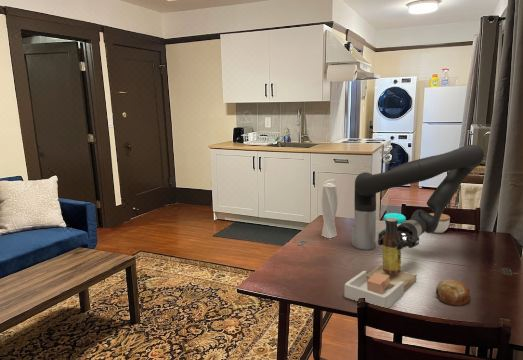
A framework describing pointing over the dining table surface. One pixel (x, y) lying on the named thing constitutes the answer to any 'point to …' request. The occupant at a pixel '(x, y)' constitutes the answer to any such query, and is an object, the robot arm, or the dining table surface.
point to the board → (395, 278)
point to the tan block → (382, 278)
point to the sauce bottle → (391, 248)
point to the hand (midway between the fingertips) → (388, 244)
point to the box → (359, 290)
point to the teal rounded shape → (399, 217)
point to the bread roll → (452, 292)
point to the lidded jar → (442, 223)
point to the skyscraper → (329, 209)
